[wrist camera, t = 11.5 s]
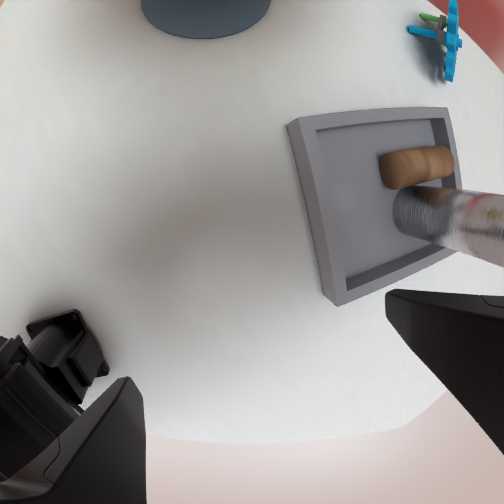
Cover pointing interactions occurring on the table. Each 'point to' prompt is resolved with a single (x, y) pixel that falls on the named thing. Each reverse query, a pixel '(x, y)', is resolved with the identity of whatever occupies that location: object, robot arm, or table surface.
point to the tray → (364, 194)
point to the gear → (444, 36)
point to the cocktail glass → (204, 16)
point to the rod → (415, 166)
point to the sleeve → (453, 219)
